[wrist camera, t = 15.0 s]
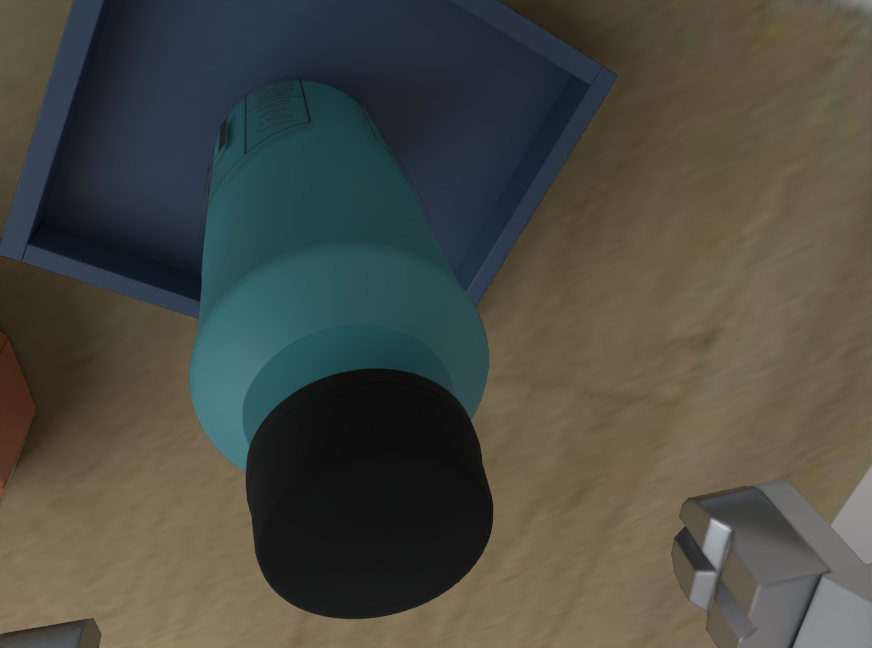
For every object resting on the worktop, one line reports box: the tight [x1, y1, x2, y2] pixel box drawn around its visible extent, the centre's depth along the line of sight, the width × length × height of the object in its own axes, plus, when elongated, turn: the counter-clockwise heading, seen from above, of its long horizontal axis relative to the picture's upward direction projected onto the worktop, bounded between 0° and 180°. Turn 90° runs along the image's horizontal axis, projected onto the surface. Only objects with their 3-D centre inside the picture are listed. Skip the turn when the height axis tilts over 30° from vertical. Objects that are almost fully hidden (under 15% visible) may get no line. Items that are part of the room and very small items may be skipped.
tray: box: [0, 0, 617, 319], centre depth 27 cm, size 18×16×3 cm
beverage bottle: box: [189, 78, 493, 619], centre depth 19 cm, size 6×7×20 cm
